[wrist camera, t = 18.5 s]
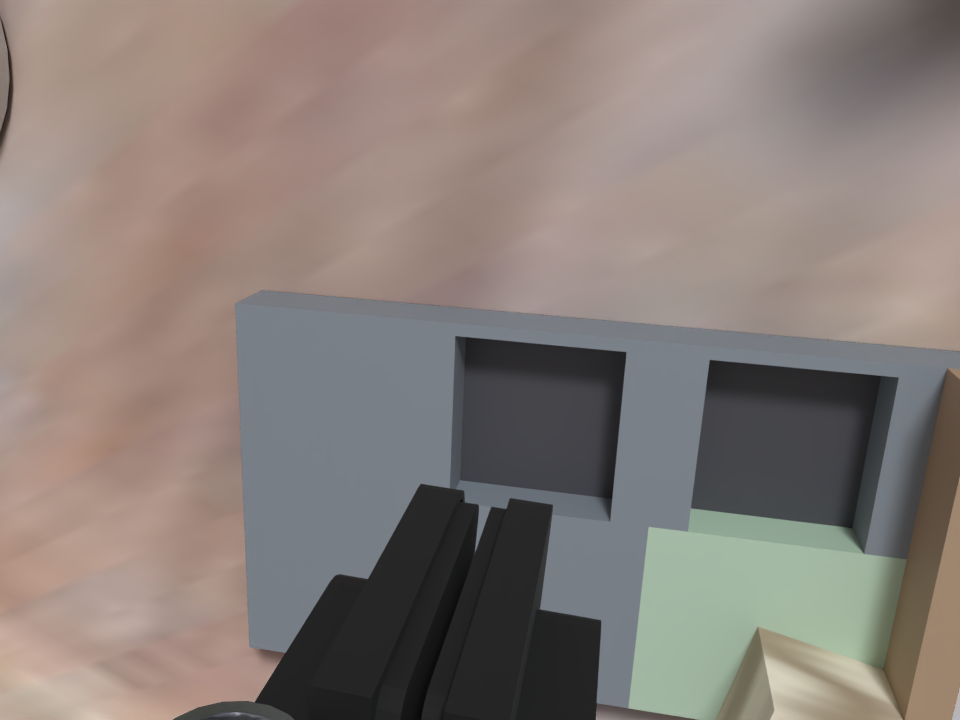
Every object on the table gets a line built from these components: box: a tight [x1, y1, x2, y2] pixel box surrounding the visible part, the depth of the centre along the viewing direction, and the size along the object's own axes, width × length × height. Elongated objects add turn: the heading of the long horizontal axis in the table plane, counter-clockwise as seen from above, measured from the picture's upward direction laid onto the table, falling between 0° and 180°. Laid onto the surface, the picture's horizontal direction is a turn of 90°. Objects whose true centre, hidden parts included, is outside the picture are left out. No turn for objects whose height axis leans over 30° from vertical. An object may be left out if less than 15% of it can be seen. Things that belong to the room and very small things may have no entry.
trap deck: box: [235, 290, 960, 720], centre depth 34 cm, size 28×16×6 cm, turn 88°
